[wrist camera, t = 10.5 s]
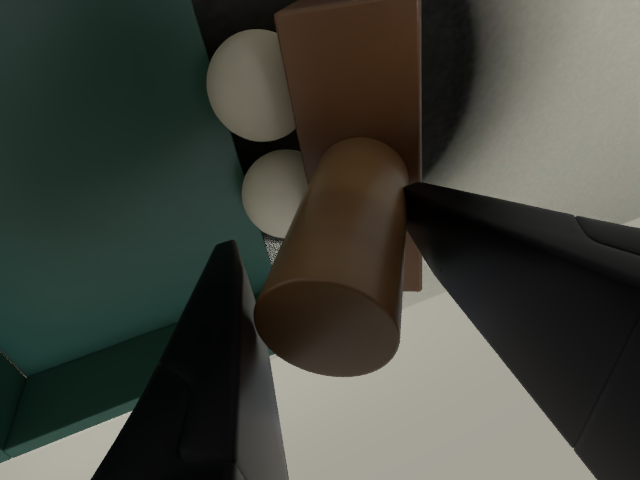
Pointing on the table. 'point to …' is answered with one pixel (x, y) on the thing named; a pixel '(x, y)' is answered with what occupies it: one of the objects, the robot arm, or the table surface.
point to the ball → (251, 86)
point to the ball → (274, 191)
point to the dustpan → (104, 205)
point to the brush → (348, 185)
